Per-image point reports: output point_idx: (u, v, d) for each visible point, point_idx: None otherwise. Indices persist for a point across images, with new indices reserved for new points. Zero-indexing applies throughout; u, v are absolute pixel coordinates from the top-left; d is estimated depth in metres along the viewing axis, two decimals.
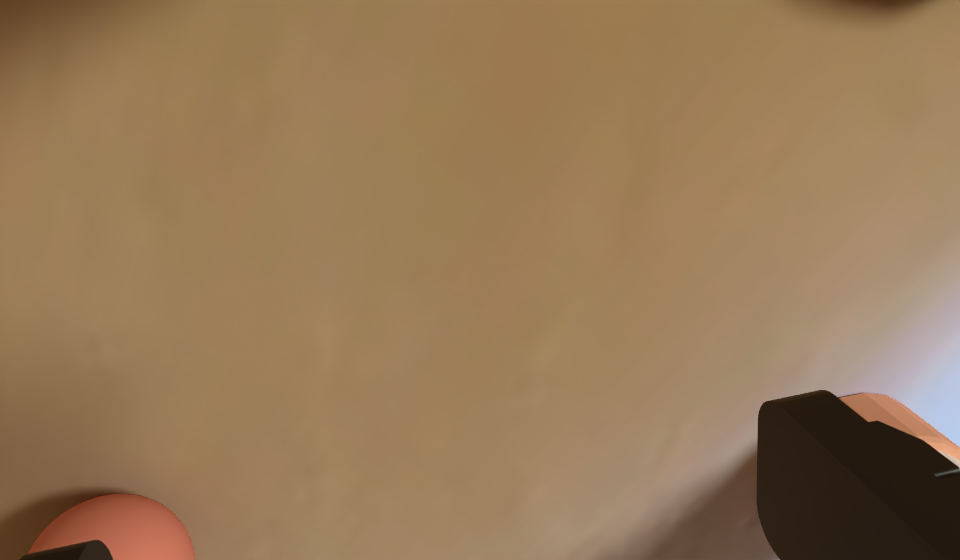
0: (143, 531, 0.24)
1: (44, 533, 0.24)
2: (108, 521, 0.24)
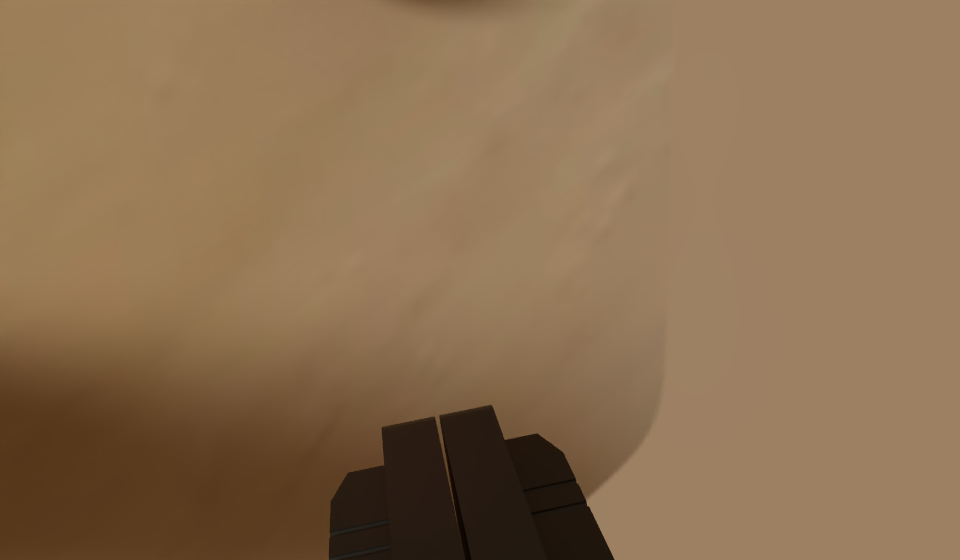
0: None
1: None
2: None
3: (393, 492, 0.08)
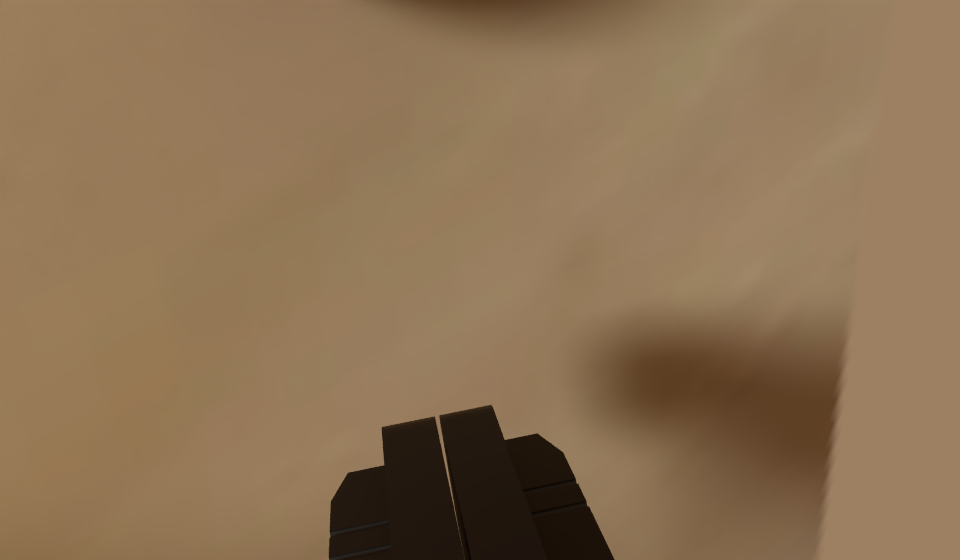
0: None
1: None
2: None
3: (393, 492, 0.08)
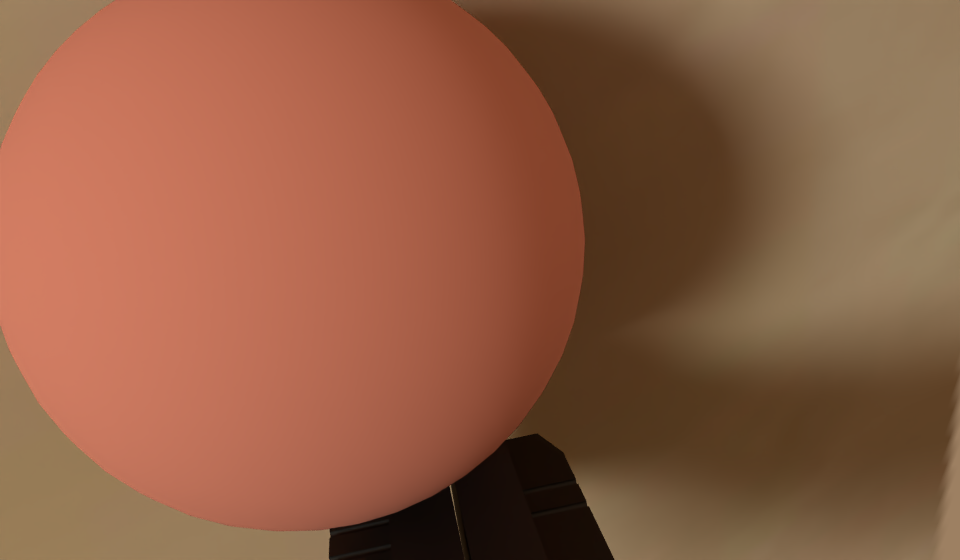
0: None
1: (307, 528, 0.06)
2: None
3: None
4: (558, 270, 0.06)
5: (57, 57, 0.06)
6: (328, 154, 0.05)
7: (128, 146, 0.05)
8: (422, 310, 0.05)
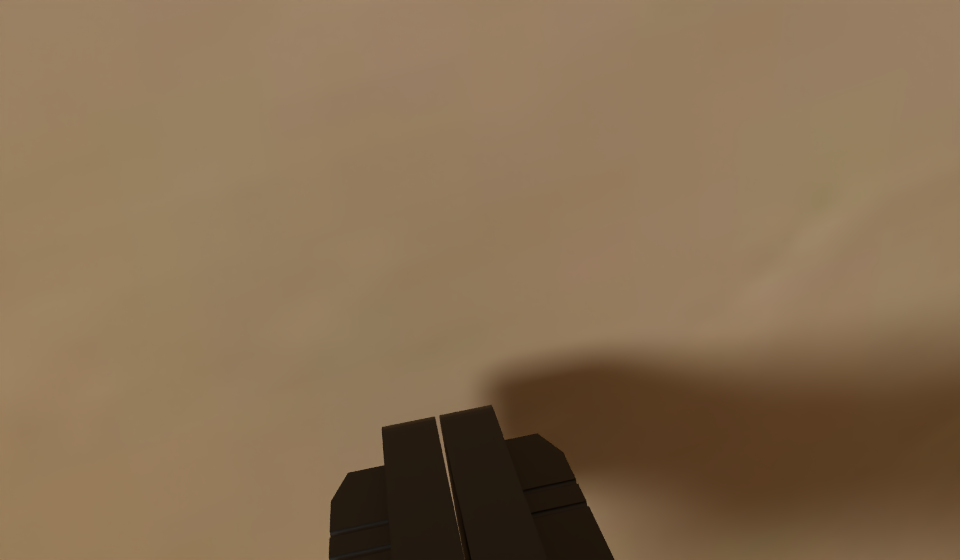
0: None
1: None
2: None
3: (393, 492, 0.08)
4: None
5: None
6: None
7: None
8: None
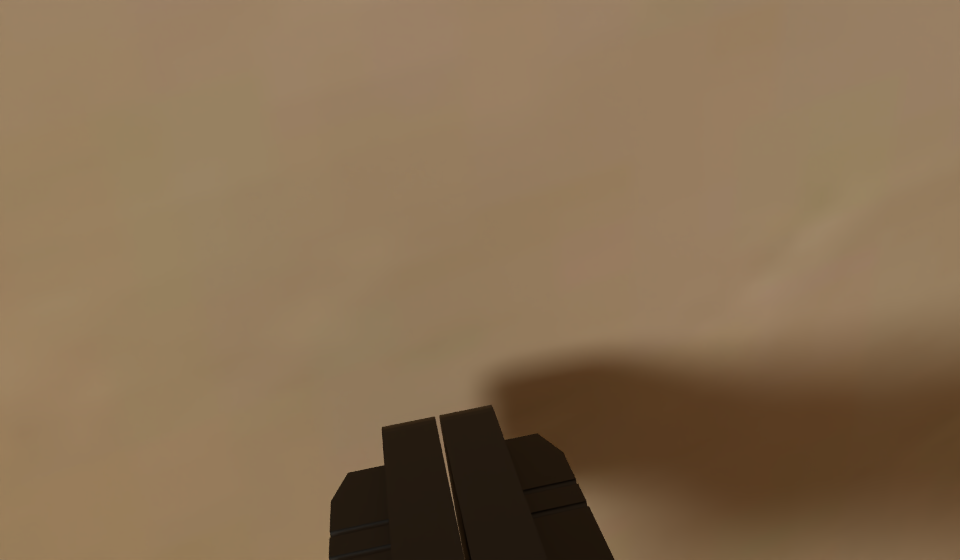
0: None
1: None
2: None
3: (393, 492, 0.08)
4: None
5: None
6: None
7: None
8: None
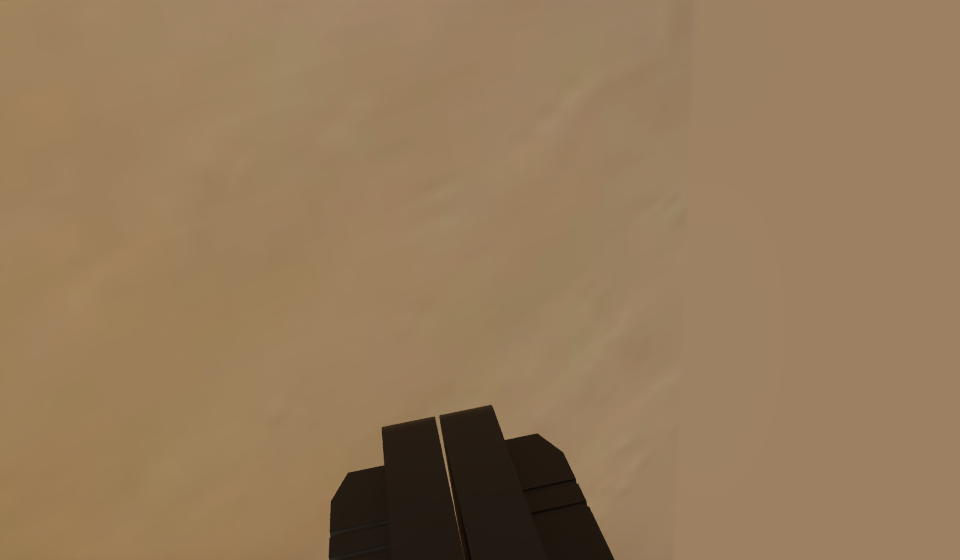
0: None
1: None
2: None
3: (394, 492, 0.08)
4: None
5: None
6: None
7: None
8: None
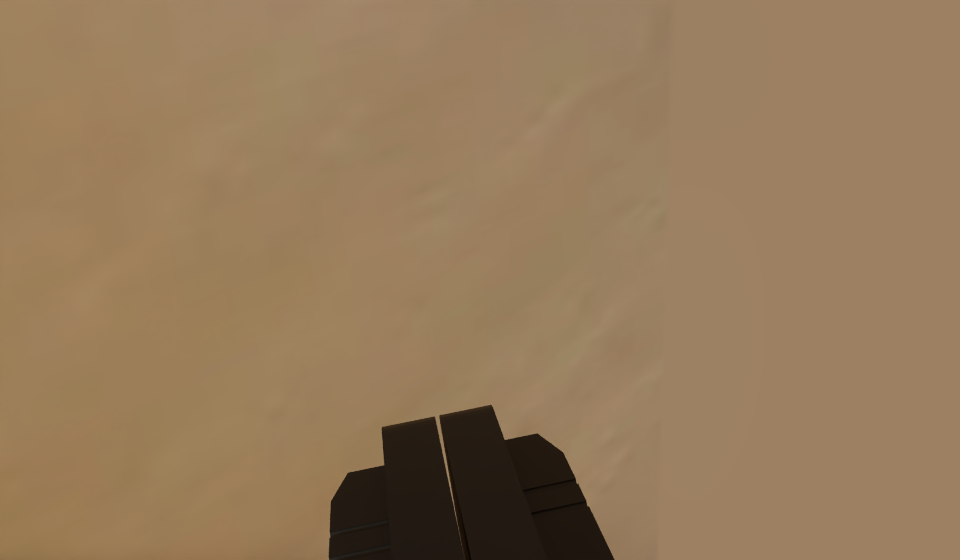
0: None
1: None
2: None
3: (393, 492, 0.08)
4: None
5: None
6: None
7: None
8: None
